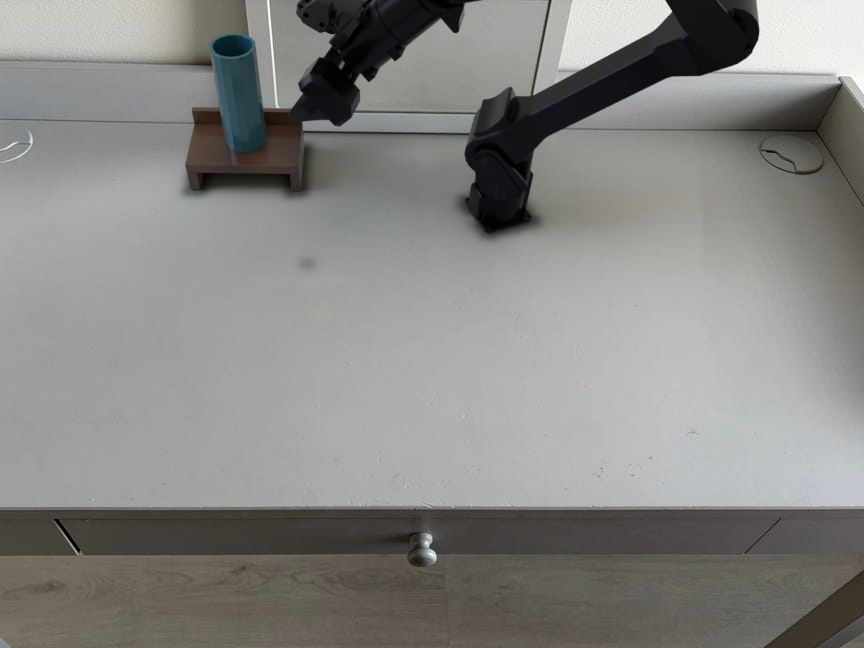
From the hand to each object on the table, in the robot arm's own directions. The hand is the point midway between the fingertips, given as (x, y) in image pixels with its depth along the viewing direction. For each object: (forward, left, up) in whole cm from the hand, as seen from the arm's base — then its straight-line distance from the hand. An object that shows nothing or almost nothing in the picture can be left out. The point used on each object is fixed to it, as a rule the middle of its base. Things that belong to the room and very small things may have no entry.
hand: (303, 96), depth 91 cm
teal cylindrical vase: (+6, -5, -8) cm, 12 cm away
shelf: (+7, -5, -12) cm, 15 cm away
